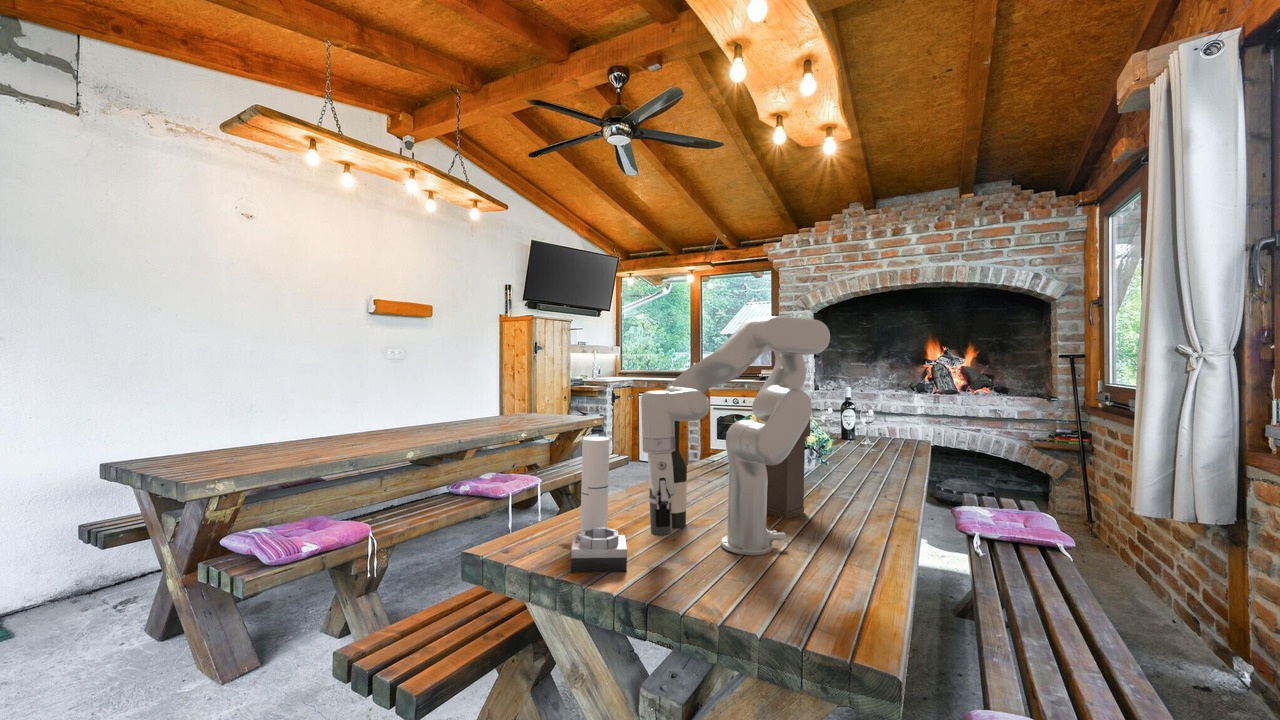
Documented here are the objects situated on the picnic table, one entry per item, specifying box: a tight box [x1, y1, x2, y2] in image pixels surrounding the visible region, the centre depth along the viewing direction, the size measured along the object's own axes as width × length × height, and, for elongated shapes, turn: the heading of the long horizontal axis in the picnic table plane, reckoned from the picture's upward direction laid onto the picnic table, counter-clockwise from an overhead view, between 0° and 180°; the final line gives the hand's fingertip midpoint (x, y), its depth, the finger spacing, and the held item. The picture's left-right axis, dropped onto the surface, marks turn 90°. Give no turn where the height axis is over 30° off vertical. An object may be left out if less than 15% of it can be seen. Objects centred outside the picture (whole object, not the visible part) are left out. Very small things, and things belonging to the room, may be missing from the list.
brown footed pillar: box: [765, 398, 812, 520], centre depth 168 cm, size 19×14×35 cm
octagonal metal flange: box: [570, 527, 628, 573], centre depth 119 cm, size 12×9×7 cm
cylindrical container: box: [580, 436, 610, 532], centre depth 141 cm, size 7×7×25 cm
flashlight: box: [648, 487, 673, 537], centre depth 123 cm, size 5×5×10 cm
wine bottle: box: [671, 420, 688, 529], centre depth 150 cm, size 8×8×30 cm
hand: (661, 521), depth 123 cm, fingers closed on flashlight, 5 cm apart
